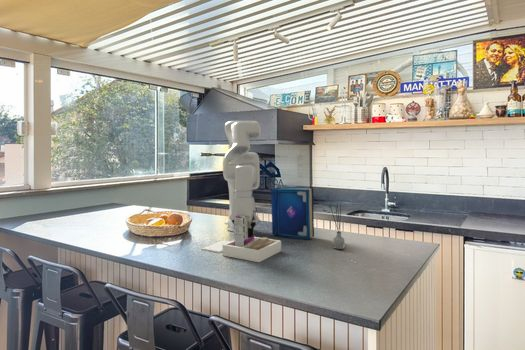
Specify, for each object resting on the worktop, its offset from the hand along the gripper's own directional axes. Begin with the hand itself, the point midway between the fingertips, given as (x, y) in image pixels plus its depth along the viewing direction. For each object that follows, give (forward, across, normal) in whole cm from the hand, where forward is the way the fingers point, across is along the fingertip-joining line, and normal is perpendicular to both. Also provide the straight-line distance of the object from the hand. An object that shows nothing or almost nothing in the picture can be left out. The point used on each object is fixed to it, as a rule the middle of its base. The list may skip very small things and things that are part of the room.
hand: (244, 235), depth 154 cm
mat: (+7, -14, +1) cm, 15 cm away
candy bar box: (+7, 0, 0) cm, 7 cm away
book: (+7, +6, +34) cm, 35 cm away
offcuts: (+7, +8, 0) cm, 11 cm away
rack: (+7, +4, 0) cm, 8 cm away
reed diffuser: (+7, +32, +25) cm, 42 cm away
